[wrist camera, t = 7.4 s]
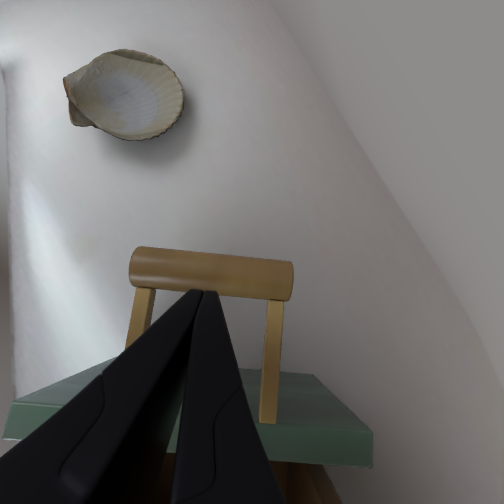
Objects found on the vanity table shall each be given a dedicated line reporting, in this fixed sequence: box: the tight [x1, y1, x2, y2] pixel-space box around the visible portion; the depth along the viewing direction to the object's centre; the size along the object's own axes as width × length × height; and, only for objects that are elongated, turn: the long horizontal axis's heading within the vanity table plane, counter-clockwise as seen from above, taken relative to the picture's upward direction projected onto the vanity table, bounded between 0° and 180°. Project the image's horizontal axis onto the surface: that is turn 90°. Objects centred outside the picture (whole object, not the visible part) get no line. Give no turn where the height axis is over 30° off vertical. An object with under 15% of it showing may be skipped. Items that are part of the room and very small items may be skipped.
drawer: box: [2, 246, 373, 504], centre depth 11 cm, size 19×13×8 cm, turn 175°
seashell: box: [63, 49, 184, 141], centre depth 19 cm, size 8×3×8 cm
